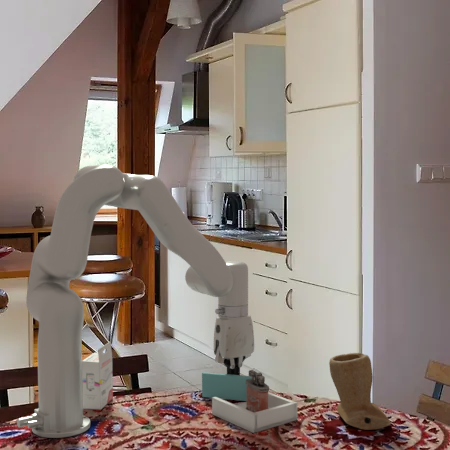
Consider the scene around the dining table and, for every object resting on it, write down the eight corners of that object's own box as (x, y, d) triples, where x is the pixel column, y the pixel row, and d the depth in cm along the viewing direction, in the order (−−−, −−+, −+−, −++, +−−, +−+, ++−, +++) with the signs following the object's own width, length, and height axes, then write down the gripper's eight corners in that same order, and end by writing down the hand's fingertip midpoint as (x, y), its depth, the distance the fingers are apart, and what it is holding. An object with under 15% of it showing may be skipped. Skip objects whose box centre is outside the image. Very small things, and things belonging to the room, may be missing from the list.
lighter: (272, 419, 155) (272, 376, 155) (259, 422, 154) (259, 378, 153) (255, 409, 163) (255, 367, 162) (242, 411, 161) (242, 369, 160)
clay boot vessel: (325, 409, 165) (325, 347, 164) (374, 408, 165) (375, 347, 164) (336, 433, 150) (337, 365, 148) (391, 432, 150) (392, 364, 149)
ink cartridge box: (94, 397, 174) (93, 340, 173) (113, 398, 173) (112, 340, 172) (81, 408, 166) (80, 348, 165) (100, 410, 165) (99, 349, 164)
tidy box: (253, 433, 150) (253, 414, 149) (212, 414, 162) (212, 397, 161) (297, 419, 158) (297, 402, 157) (254, 402, 169) (254, 386, 169)
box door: (202, 396, 173) (202, 373, 173) (203, 395, 174) (203, 372, 174) (252, 401, 170) (252, 377, 169) (253, 400, 170) (253, 376, 170)
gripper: (218, 317, 166) (218, 392, 168) (265, 309, 175) (265, 380, 177) (200, 312, 172) (200, 384, 173) (246, 305, 181) (246, 374, 183)
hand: (233, 382), depth 175 cm, fingers closed
